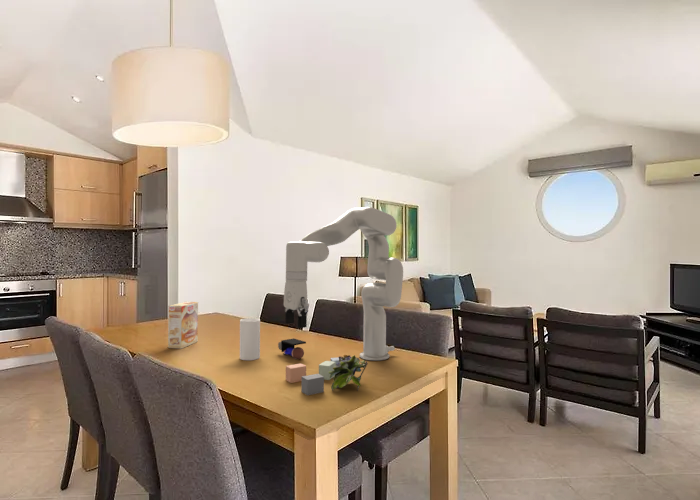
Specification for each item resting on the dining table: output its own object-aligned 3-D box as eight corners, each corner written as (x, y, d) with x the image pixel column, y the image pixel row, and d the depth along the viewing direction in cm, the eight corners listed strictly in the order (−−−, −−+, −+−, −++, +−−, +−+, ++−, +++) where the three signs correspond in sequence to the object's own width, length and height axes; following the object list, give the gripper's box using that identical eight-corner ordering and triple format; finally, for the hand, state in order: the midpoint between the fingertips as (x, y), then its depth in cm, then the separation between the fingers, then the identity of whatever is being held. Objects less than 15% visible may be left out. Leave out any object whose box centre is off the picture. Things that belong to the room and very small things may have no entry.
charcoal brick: (317, 388, 140) (317, 373, 140) (323, 392, 137) (323, 376, 137) (301, 392, 137) (301, 376, 137) (307, 395, 134) (307, 379, 134)
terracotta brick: (300, 377, 153) (301, 363, 153) (306, 380, 149) (306, 366, 149) (285, 380, 149) (285, 365, 149) (290, 383, 146) (290, 368, 146)
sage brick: (325, 374, 156) (325, 360, 156) (335, 375, 155) (335, 361, 155) (318, 378, 151) (318, 364, 151) (328, 380, 149) (329, 366, 149)
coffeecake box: (181, 348, 193) (181, 305, 193) (167, 348, 194) (167, 305, 194) (198, 341, 208) (198, 301, 208) (185, 341, 209) (185, 301, 209)
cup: (263, 356, 180) (264, 318, 180) (251, 361, 173) (251, 321, 173) (248, 354, 184) (248, 317, 184) (235, 358, 176) (235, 320, 176)
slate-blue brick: (345, 370, 162) (346, 357, 162) (348, 373, 158) (348, 359, 158) (330, 371, 161) (330, 357, 160) (332, 374, 157) (332, 360, 157)
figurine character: (277, 357, 185) (293, 361, 173) (276, 339, 186) (292, 341, 174) (291, 355, 189) (308, 358, 177) (290, 337, 190) (307, 339, 178)
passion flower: (343, 401, 146) (356, 364, 152) (367, 404, 137) (380, 365, 143) (317, 385, 140) (331, 348, 147) (340, 388, 131) (354, 347, 138)
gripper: (276, 275, 155) (275, 322, 155) (297, 278, 140) (297, 330, 140) (295, 275, 159) (294, 320, 159) (317, 278, 145) (316, 328, 145)
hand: (295, 325), depth 150 cm, fingers open, 9 cm apart
